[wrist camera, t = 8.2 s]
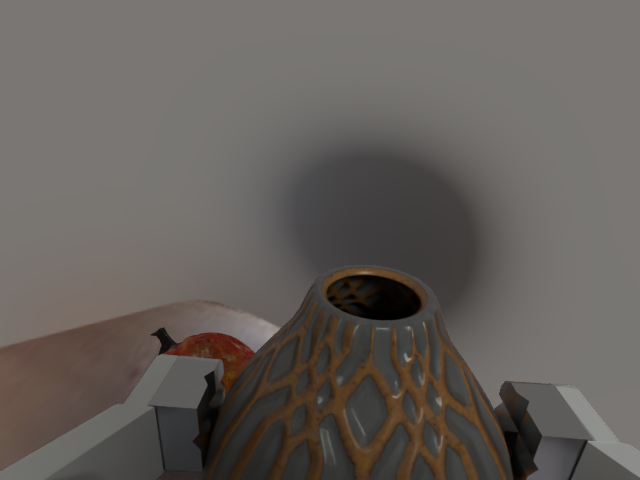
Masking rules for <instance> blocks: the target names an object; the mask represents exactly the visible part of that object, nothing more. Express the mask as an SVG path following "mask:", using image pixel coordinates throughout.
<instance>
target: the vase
mask: <svg viewBox="0 0 640 480" xmlns="http://www.w3.org/2000/svg"><path fill="white" fill-rule="evenodd" d="M203 480H513V475H512V469H511V463H510V458H509V453H508V449H507V445H506V442H505V438H504V435H503V432H502V428H501V426H500V423H499V421H498V418H497V416H496V414H495V411H494V409H493V407H492V405H491V403H490V401H489V399H488V398H487V396H486V394H485V393H484V391H483V389H482V387H481V386H480V384H479V382H478V381H477V379H476V378H475V376H474V374H473V373H472V372H471V370H470V368H469V367H468V365H467V364H466V363H465V361H464V359H463V358H462V356H461V355H460V354H459V352H458V351H457V349H456V348H455V346H454V345H453V343H452V342H451V340H450V338H449V336H448V333H447V331H446V328H445V324H444V321H443V317H442V314H441V310H440V306H439V303H438V300H437V298H436V296H435V294H434V293H433V292H432V290H431V289H430V288H429V287H428V286H427V285H425V284H424V283H423V282H422V281H420V280H419V279H417V278H415V277H413V276H411V275H409V274H407V273H404V272H401V271H398V270H395V269H391V268H387V267H382V266H374V265H351V266H343V267H339V268H336V269H332V270H330V271H327V272H325V273H324V274H322V275H320V276H319V277H318V278H317V279H316V280H315V281H314V283H313V284H312V286H311V287H310V289H309V291H308V293H307V295H306V297H305V299H304V301H303V302H302V304H301V306H300V308H299V310H298V311H297V312H296V314H295V315H294V316H293V318H292V319H290V321H288V322H287V323H286V324H285V325H284V326H283V327H282V328H281V329H280V330H279V331H278V332H277V333H275V334H274V335H273V336H272V337H271V338H270V339H269V340H268V341H267V342H266V343H265V344H264V345H263V346H262V347H261V348H260V349H259V350H258V351H257V352H256V353H255V354H254V355H253V357H252V358H251V359H250V360H249V361H248V362H247V364H246V365H245V366H244V368H243V369H242V370H241V372H240V373H239V374H238V376H237V377H236V379H235V381H234V382H233V384H232V386H231V388H230V389H229V391H228V393H227V395H226V397H225V399H224V402H223V404H222V406H221V409H220V411H219V414H218V416H217V419H216V422H215V425H214V428H213V431H212V435H211V438H210V442H209V446H208V451H207V456H206V461H205V467H204V471H203Z"/></svg>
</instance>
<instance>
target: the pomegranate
mask: <svg viewBox="0 0 640 480" xmlns="http://www.w3.org/2000/svg"><path fill="white" fill-rule="evenodd" d="M151 335H152V336H157V337H158V339H159V340H160V342H161V344H162V346H161V348H160V351H159V355H160V354H165V355H176V356H190V357H200V358H210V359H220V360H222V362H223V368H224V374H223V377H222V379H221V382H220V383H221V384H222V385H223V386H224V388H225V397H226V395H227V393H228V391H229V389H230V388H231V386H232V384H233V382H234V381H235V379H236V377H237V376H238V374H239V373H240V372H241V370H242V369H243V368H244V366H245V365H246V364H247V362H248V361H249V360H250V359H251V358H252V357H253V355H254V354H255V353H254V352H253V351H252V350H251V349H250V348H249V347H248V346H246V345H245V344H244V343H242V342H241V341H239V340H238V339H236V338H234V337H232V336H229V335H225V334H221V333H213V332H211V333H203V334H202V333H201V334H199V335H193V336H190V337H188V338H186V339H185V340H184V341H183V342H181V343H178V344H177V343H175V342H174V341H173V340H172V339H171V337H170V336H169V335H168V334H167V332H166V330H165V328H160V329H159V330H158V331H157V332H155V333H153V334H151ZM159 355H158V356H159Z"/></svg>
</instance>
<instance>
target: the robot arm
mask: <svg viewBox="0 0 640 480" xmlns="http://www.w3.org/2000/svg"><path fill="white" fill-rule="evenodd" d="M223 374H224V368H223V362H222V360H220V359H210V358H200V357H190V356H176V355H165V354H160V355H159V356H157V357H156V358H155V359H154V360H153V362H152V363H151V365H150V366H149V367H148V369H147V370H146V372H145V373H144V375H143V376H142V378H141V379H140V380H139V382H138V383H137V385H136V386H135V388H134V389H133V391H132V392H131V393H130V395H129V396H128V398H127V399H126V401H125V402H124V404H115V405H114V406H112V407H110V408H108V409H107V410H105V411H103V412H101V413H100V414H98V415H96V416H95V417H93V418H91V419H89V420H88V421H86V422H84V423H82V424H81V425H79V426H77V427H76V428H74V429H72V430H70V431H69V432H67V433H65V434H64V435H62V436H60V437H58V438H57V439H55V440H53V441H51V442H50V443H48V444H46V445H45V446H43V447H41V448H39V449H38V450H36V451H34V452H33V453H31V454H29V455H27V456H26V457H24V458H22V459H20V460H19V461H17V462H15V463H14V464H12V465H10V466H8V467H7V468H5V469H3V470H1V471H0V480H157V479H158V478H159V477H160V476H161V475H162V474H163V473H164V470H171V471H190V472H203V469H204V467H205V461H206V456H207V451H208V446H209V442H210V438H211V435H212V431H213V428H214V425H215V422H216V419H217V416H218V414H219V411H220V409H221V406H222V404H223V402H224V399H225V388H224V386H223V385H222V384H221V383H220V382H221V379H222V377H223ZM499 395H500V397H501V399H502V401H503V402H502V403H501V404H500V405H499V406H497V407H496V408H495V410H494V411H495V414H496V416H497V418H498V421H499V423H500V426H501V428H502V432H503V435H504V438H505V442H506V445H507V449H508V453H509V458H510V463H511V469H512V475H513V480H640V451H638V450H637V449H635V448H634V447H632V446H631V445H629V444H623V443H620V442H619V441H618V439H617V438H616V437H615V435H614V434H613V433H612V432H611V430H610V429H609V428H608V427H607V425H606V424H605V423H604V421H603V420H602V419H601V418H600V417H599V415H598V414H597V413H596V411H595V410H594V409H593V408H592V407H591V405H590V404H589V403H588V401H587V400H586V399H585V398H584V396H583V395H582V394H581V393H580V391H579V390H578V389H577V388H576V387H574V386H573V385H568V384H550V383H549V384H542V383H528V382H513V381H505V382H504V383H503V385H502V386H501V389H500V393H499Z"/></svg>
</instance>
